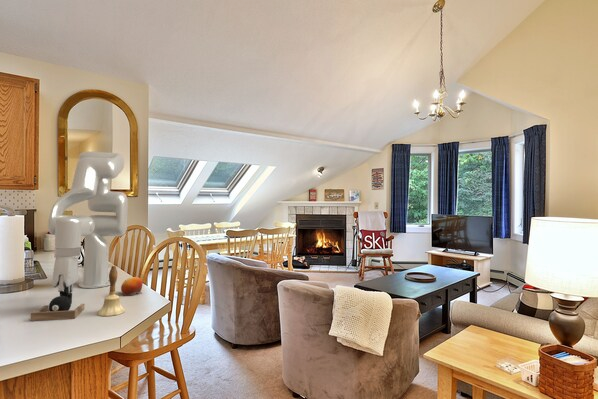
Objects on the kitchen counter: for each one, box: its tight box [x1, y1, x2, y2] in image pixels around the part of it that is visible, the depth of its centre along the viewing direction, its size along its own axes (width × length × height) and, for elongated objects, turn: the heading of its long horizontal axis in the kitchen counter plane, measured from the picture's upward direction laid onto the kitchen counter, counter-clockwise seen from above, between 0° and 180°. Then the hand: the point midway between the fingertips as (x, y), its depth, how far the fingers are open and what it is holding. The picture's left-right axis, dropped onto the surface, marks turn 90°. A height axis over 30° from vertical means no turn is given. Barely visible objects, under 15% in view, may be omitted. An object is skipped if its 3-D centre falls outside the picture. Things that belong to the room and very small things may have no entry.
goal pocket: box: [30, 303, 86, 322], centre depth 112 cm, size 10×12×2 cm
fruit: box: [120, 276, 143, 296], centre depth 140 cm, size 8×8×8 cm
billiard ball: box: [48, 295, 72, 311], centre depth 113 cm, size 6×6×6 cm
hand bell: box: [97, 265, 126, 317], centre depth 117 cm, size 8×8×16 cm
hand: (65, 305), depth 118 cm, fingers closed
